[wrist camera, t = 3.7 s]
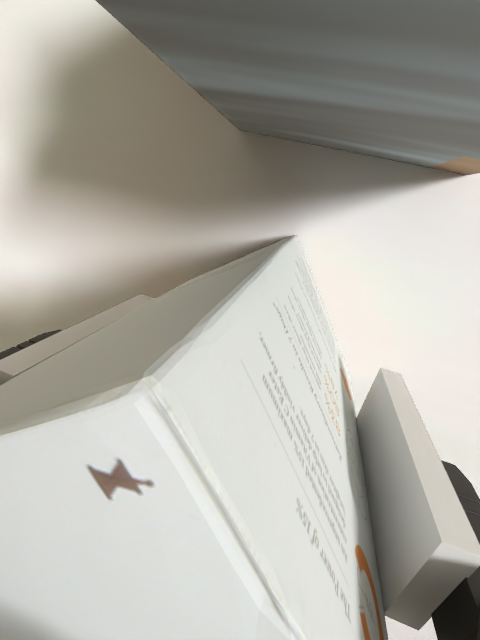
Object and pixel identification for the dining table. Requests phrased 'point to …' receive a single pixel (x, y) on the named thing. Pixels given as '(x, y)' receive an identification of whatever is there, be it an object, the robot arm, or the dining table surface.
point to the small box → (191, 472)
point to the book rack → (330, 70)
